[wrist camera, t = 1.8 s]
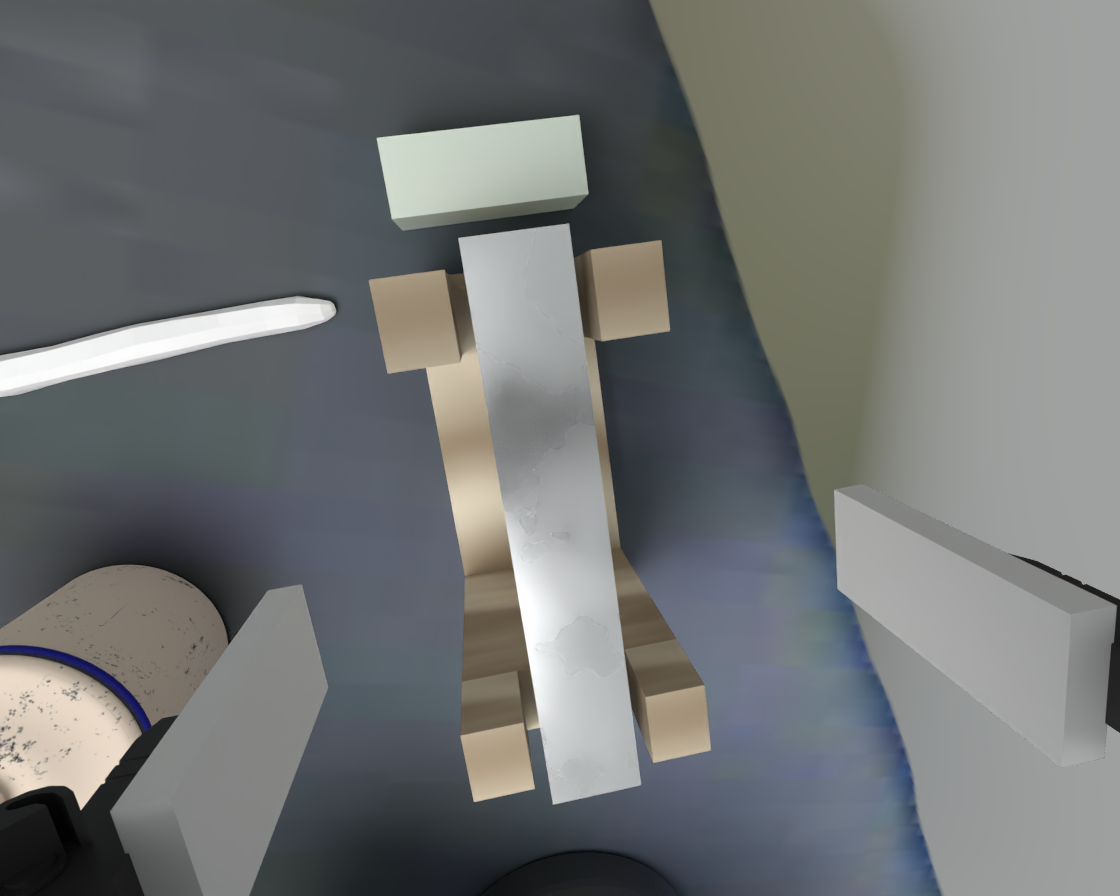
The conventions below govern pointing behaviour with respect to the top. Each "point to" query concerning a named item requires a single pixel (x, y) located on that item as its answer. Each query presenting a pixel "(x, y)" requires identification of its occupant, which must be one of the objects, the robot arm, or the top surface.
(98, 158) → the top surface
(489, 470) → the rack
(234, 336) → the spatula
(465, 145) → the rest
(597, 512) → the rail
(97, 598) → the teacup with lid
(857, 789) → the top surface
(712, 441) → the top surface
